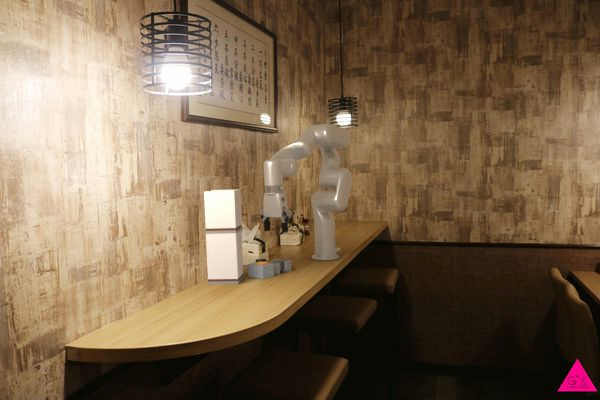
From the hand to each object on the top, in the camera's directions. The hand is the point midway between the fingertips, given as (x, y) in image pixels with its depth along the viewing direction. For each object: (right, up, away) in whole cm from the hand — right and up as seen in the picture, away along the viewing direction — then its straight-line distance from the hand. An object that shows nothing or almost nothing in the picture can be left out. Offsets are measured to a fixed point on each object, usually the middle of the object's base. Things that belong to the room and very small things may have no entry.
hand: (276, 231), depth 211 cm
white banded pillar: (-18, -19, -14) cm, 30 cm away
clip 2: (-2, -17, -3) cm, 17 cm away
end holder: (-5, -17, -7) cm, 19 cm away
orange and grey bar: (-1, -16, -2) cm, 16 cm away
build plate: (-7, -17, +9) cm, 21 cm away
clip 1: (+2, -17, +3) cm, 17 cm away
